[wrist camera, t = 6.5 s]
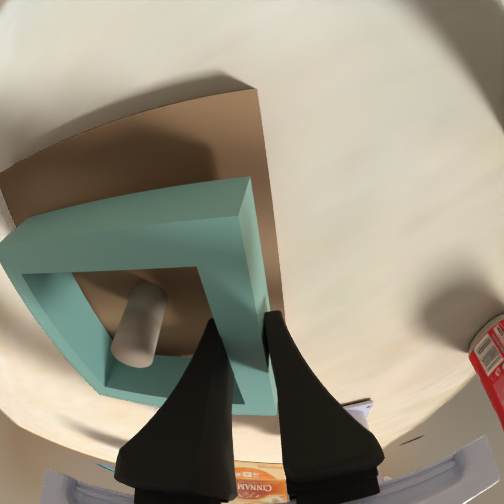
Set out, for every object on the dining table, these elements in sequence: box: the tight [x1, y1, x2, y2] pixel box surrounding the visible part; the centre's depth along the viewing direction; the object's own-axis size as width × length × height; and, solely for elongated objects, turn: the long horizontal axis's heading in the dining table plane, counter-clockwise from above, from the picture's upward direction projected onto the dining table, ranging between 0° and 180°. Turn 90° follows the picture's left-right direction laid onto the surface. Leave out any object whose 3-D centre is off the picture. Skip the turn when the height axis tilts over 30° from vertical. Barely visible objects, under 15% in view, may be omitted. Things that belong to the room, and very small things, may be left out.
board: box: [0, 88, 286, 368], centre depth 14 cm, size 18×14×6 cm
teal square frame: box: [0, 176, 278, 416], centre depth 13 cm, size 12×12×3 cm
